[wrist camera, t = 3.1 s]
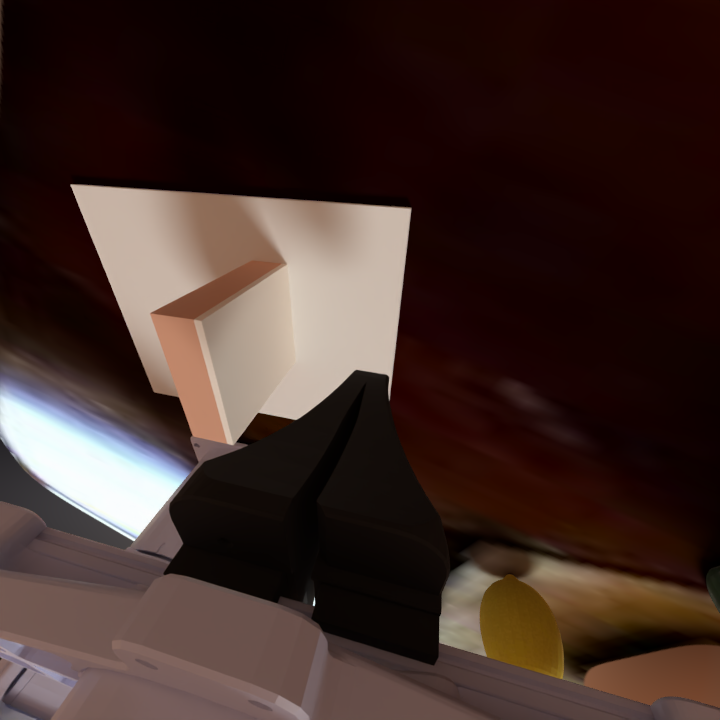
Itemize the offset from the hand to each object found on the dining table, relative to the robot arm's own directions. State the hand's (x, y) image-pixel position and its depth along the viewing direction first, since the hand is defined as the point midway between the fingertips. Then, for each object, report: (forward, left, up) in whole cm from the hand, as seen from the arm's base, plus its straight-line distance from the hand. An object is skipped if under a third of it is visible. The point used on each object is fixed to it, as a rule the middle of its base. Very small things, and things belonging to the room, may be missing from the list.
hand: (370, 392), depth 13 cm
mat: (-1, +9, -6) cm, 10 cm away
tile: (0, +7, -6) cm, 9 cm away
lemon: (-22, -12, -6) cm, 26 cm away
